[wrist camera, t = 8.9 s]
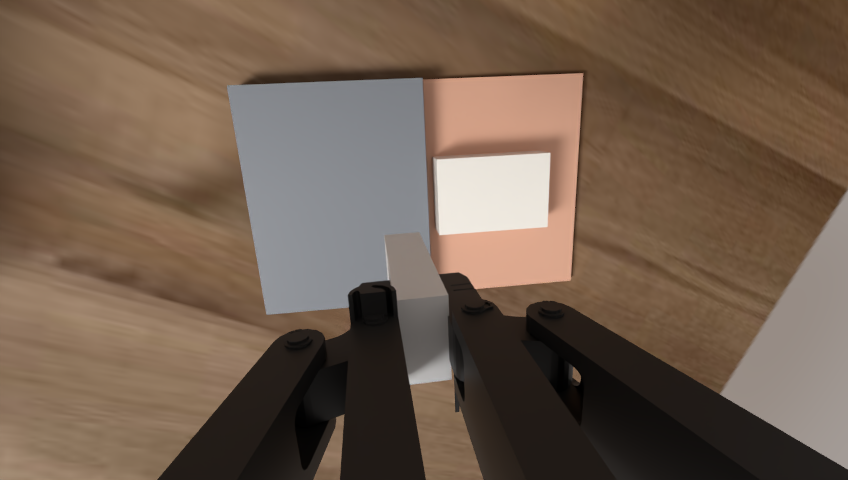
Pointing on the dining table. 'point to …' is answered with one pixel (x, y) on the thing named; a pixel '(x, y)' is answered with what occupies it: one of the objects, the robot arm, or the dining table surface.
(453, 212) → the tile
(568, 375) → the robot arm
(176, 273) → the dining table surface
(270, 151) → the grey slab
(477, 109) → the mat
